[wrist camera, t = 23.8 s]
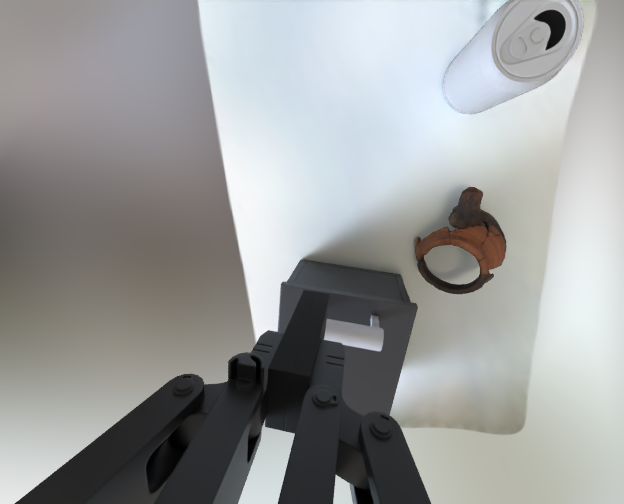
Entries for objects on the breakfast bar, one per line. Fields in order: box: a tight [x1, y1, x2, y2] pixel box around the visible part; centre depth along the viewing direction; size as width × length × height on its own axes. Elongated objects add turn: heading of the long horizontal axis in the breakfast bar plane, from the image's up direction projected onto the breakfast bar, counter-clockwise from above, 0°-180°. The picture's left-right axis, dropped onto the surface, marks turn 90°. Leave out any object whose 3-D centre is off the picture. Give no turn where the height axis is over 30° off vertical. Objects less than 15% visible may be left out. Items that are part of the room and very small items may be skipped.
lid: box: [278, 282, 418, 416], centre depth 30 cm, size 16×14×5 cm
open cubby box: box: [287, 260, 411, 303], centre depth 37 cm, size 16×14×9 cm
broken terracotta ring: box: [415, 187, 506, 294], centre depth 33 cm, size 12×10×8 cm
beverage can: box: [443, 0, 584, 114], centre depth 25 cm, size 6×6×12 cm
